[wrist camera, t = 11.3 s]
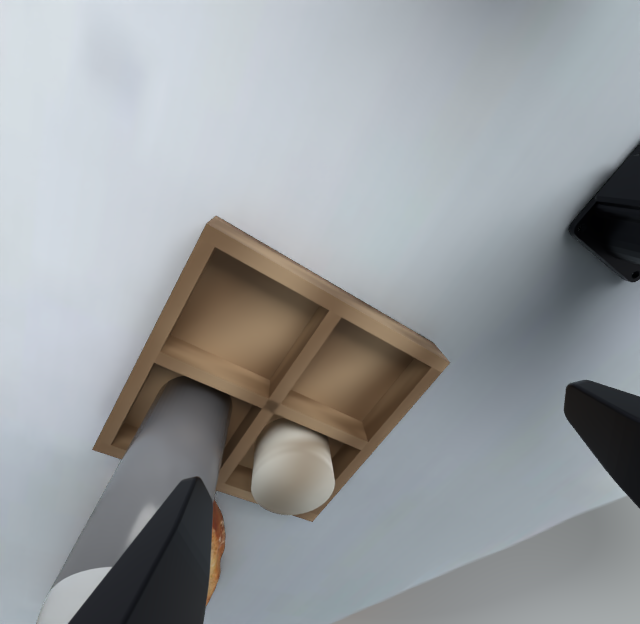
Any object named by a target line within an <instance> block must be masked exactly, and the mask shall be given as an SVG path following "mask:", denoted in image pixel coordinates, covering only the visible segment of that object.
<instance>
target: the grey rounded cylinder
mask: <svg viewBox="0 0 640 624" xmlns="http://www.w3.org/2000/svg"><path fill="white" fill-rule="evenodd" d="M232 407H233V406H232V400H231V397H230V395H229V394H227V393H224V392H222V391H220V390H217V389H215V388H213V387H210V386H208V385H205V384H203V383H201V382H198V381H196V380H194V379H191V378H189V377H187V376H180V377H176V378H174V379H172V380H170V381H168V382H167V383H165V384H164V385H163V386H162V387H161V389H160V390H159V392H158V394H157V396H156V397H155V399H154V401H153V403H152V405H151V407H150V408H149V410H148V412H147V414H146V416H145V418H144V419H143V421H142V423H141V425H140V427H139V429H138V430H137V432H136V434H135V436H134V438H133V440H132V441H131V443H130V445H129V447H128V449H127V451H126V452H125V454H124V456H123V458H122V460H121V461H120V463H119V465H118V467H117V469H116V471H115V472H114V474H113V476H112V478H111V480H110V482H109V483H108V485H107V487H106V489H105V491H104V493H103V494H102V496H101V498H100V500H99V502H98V504H97V505H96V507H95V509H94V511H93V513H92V515H91V516H90V518H89V520H88V522H87V524H86V526H85V527H84V529H83V531H82V533H81V535H80V537H79V538H78V540H77V542H76V544H75V546H74V548H73V549H72V551H71V553H70V555H69V557H68V559H67V560H66V562H65V564H64V566H63V568H62V570H61V571H60V573H59V575H58V577H57V579H56V580H55V582H54V584H53V586H52V588H51V590H50V591H49V593H48V595H47V597H46V599H45V601H44V603H43V606H42V608H41V610H40V613H39V616H38V619H37V622H36V624H68V622H69V621H70V620H71V619H72V617H73V616H74V615H75V614H76V612H77V611H78V610H79V609H80V607H81V606H82V605H83V603H84V602H85V601H86V600H87V598H88V597H89V596H90V595H91V593H92V592H93V591H94V590H95V588H96V587H97V586H98V584H99V583H100V582H101V581H102V579H103V578H104V577H105V576H106V574H107V573H108V572H109V571H110V569H111V568H112V567H113V565H114V564H115V563H116V562H117V560H118V559H119V558H120V557H121V555H122V554H123V553H124V552H125V550H126V549H127V548H128V546H129V545H130V544H131V543H132V541H133V540H134V539H135V538H136V536H137V535H138V534H139V533H140V531H141V530H142V529H143V527H144V526H145V525H146V524H147V522H148V521H149V520H150V519H151V517H152V516H153V515H154V514H155V512H156V511H157V510H158V508H159V507H160V506H161V505H162V503H163V502H164V501H165V500H166V498H167V497H168V496H169V495H170V493H171V492H172V491H173V490H174V488H175V487H176V486H177V484H178V483H179V482H180V481H181V480H183V479H187V478H191V477H195V476H199V477H200V478H201V479H202V481H203V482H204V484H205V486H206V488H207V490H208V492H209V494H210V496H211V498H212V501H214V496H215V491H216V486H217V481H218V477H219V472H220V467H221V462H222V457H223V453H224V448H225V443H226V438H227V433H228V428H229V424H230V419H231V414H232Z"/></svg>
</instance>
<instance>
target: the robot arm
mask: <svg viewBox="0 0 640 624" xmlns="http://www.w3.org/2000/svg"><path fill="white" fill-rule="evenodd" d="M580 225H581V228H580V230H578V228H579V226H580ZM569 233H570V234H571V235H572V236H573V237H574V238H575V239H577V240H578V241H579V242H580V243H581V244H582V245H584V246H585V247H586V248H587V249H588V250H589V251H591V252H592V253H593V254H594V255H595V256H597V257H598V258H599V259H600V260H601V261H602V262H604V263H605V264H606V265H607V266H608V267H610V268H611V269H612V270H613V271H614V272H615V273H617V274H618V275H619V276H620V277H621V278H622V279H624V280H626V281H629V282H636V281H638V280H639V279H640V144H639V146H638V147H637V148H636V149H635V150H634V151H633V152H632V154H631V155H630V156H629V157H628V158H627V159H626V161H625V162H624V163H623V164H622V165H621V166H620V167H619V169H618V170H617V171H616V172H615V173H614V174H613V176H612V177H611V178H610V179H609V180H608V181H607V182H606V184H605V185H604V186H603V187H602V188H601V189H600V191H599V192H598V193H597V194H596V195H595V196H594V197H593V199H592V200H591V201H590V202H589V203H588V204H587V206H586V207H585V208H584V209H583V210H582V211H581V212H580V214H579V215H578V216H577V217H576V218H575V219H574V221H573V222H572V223H571V224H570V226H569ZM564 413H565V416H566V418H567V420H568V421H569V423H570V424H571V425H572V426H573V428H574V429H575V430H576V432H577V433H578V434H579V436H580V437H581V438H582V440H583V441H584V442H585V443H586V445H587V446H588V447H589V449H590V450H591V451H592V453H593V454H594V455H595V457H596V458H597V459H598V461H599V462H600V463H601V464H602V466H603V467H604V468H605V470H606V471H607V472H608V473H609V475H610V476H611V477H612V478H613V479H614V481H615V482H616V483H617V484H618V485H619V486H620V487H621V489H622V490H623V491H624V492H625V493H626V494H627V495H628V496H629V497H630V499H632V501H633V502H634V503H635V504H636V505H637V506H638V507H639V508H640V397H639V396H636V395H633V394H630V393H627V392H624V391H621V390H617V389H614V388H611V387H608V386H605V385H602V384H599V383H596V382H593V381H589V380H582V381H578V382H573V383H570V384H568V386H567V387H566V394H565V403H564ZM212 523H213V501H212V498H211V496H210V494H209V492H208V490H207V488H206V486H205V484H204V482H203V481H202V479H201V478H200V477H199V476H195V477H191V478H187V479H183V480H181V481H180V482H179V483H178V484H177V486H176V487H175V488H174V490H173V491H172V492H171V493H170V495H169V496H168V497H167V498H166V500H165V501H164V502H163V503H162V505H161V506H160V507H159V508H158V510H157V511H156V512H155V514H154V515H153V516H152V517H151V519H150V520H149V521H148V522H147V524H146V525H145V526H144V527H143V529H142V530H141V531H140V533H139V534H138V535H137V536H136V538H135V539H134V540H133V541H132V543H131V544H130V545H129V546H128V548H127V549H126V550H125V552H124V553H123V554H122V555H121V557H120V558H119V559H118V560H117V562H116V563H115V564H114V565H113V567H112V568H111V569H110V571H109V572H108V573H107V574H106V576H105V577H104V578H103V579H102V581H101V582H100V583H99V584H98V586H97V587H96V588H95V590H94V591H93V592H92V593H91V595H90V596H89V597H88V598H87V600H86V601H85V602H84V603H83V605H82V606H81V607H80V609H79V610H78V611H77V612H76V614H75V615H74V616H73V617H72V619H71V620H70V621H69V622H68V624H203V622H204V615H205V608H206V601H207V594H208V587H209V578H210V562H211V543H212Z"/></svg>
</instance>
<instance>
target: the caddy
mask: <svg viewBox="0 0 640 624" xmlns="http://www.w3.org/2000/svg"><path fill="white" fill-rule="evenodd" d="M449 364H450V362H449V361H448V360H447V358H446V357H445V356H444V355H443V354H442V352H441V351H440V350H439V349H438V348H437V346H436V345H435V344H434V343H433V342H431V341H430V340H428V339H426V338H425V337H423V336H421V335H419V334H418V333H416V332H414V331H413V330H411V329H409V328H407V327H406V326H404V325H402V324H401V323H399V322H397V321H395V320H394V319H392V318H390V317H389V316H387V315H385V314H384V313H382V312H380V311H378V310H377V309H375V308H373V307H372V306H370V305H368V304H366V303H365V302H363V301H361V300H360V299H358V298H356V297H354V296H353V295H351V294H349V293H348V292H346V291H344V290H342V289H341V288H339V287H337V286H336V285H334V284H332V283H330V282H329V281H327V280H325V279H324V278H322V277H320V276H319V275H317V274H315V273H313V272H312V271H310V270H308V269H307V268H305V267H303V266H301V265H300V264H298V263H296V262H295V261H293V260H291V259H289V258H288V257H286V256H284V255H283V254H281V253H279V252H277V251H276V250H274V249H272V248H271V247H269V246H267V245H265V244H264V243H262V242H260V241H259V240H257V239H255V238H254V237H252V236H250V235H248V234H247V233H245V232H243V231H242V230H240V229H238V228H236V227H235V226H233V225H231V224H230V223H228V222H226V221H224V220H223V219H221V218H219V217H218V216H215V217H214V218H213V219H211V220H210V221H209V222H208V223H207V224H206V226H205V227H204V229H203V231H202V233H201V235H200V237H199V239H198V241H197V243H196V245H195V247H194V249H193V251H192V253H191V255H190V257H189V259H188V261H187V263H186V265H185V267H184V269H183V271H182V273H181V275H180V277H179V279H178V281H177V283H176V285H175V287H174V289H173V291H172V293H171V295H170V297H169V299H168V301H167V303H166V305H165V307H164V309H163V311H162V313H161V315H160V317H159V319H158V321H157V322H156V324H155V326H154V328H153V330H152V332H151V334H150V336H149V338H148V340H147V342H146V344H145V346H144V348H143V350H142V352H141V354H140V356H139V358H138V360H137V362H136V364H135V366H134V368H133V370H132V372H131V374H130V376H129V378H128V380H127V382H126V384H125V386H124V388H123V390H122V392H121V394H120V396H119V398H118V400H117V402H116V404H115V406H114V408H113V410H112V412H111V414H110V415H109V417H108V419H107V421H106V423H105V425H104V427H103V429H102V431H101V433H100V435H99V437H98V439H97V441H96V443H95V445H94V447H93V449H92V450H95V451H98V452H101V453H104V454H107V455H110V456H113V457H116V458H119V459H122V458H123V456H124V454H125V452H126V451H127V449H128V447H129V445H130V443H131V441H132V440H133V438H134V436H135V434H136V432H137V430H138V429H139V427H140V425H141V423H142V421H143V419H144V418H145V416H146V414H147V412H148V410H149V408H150V407H151V405H152V403H153V401H154V399H155V397H156V396H157V394H158V392H159V390H160V389H161V387H162V386H163V385H164V384H165V383H167V382H168V381H170V380H172V379H174V378H176V377H180V376H187V377H189V378H191V379H194V380H196V381H198V382H201V383H203V384H205V385H208V386H210V387H213V388H215V389H217V390H220V391H222V392H224V393H227V394H229V395H230V397H231V400H232V406H233V407H232V414H231V419H230V424H229V428H228V433H227V438H226V443H225V448H224V453H223V457H222V462H221V467H220V472H219V477H218V481H217V486H216V490H217V491H220V492H223V493H226V494H229V495H232V496H235V497H238V498H241V499H244V500H247V501H250V502H253V503H256V504H259V505H260V506H261V507H263V508H264V509H266V510H268V511H270V512H273V513H277V514H282V515H293V516H296V517H299V518H302V519H305V520H308V521H311V522H313V521H314V519H315V518H316V517H317V516H318V515H319V514H320V512H321V511H322V510H323V509H324V508H325V507H326V506H327V504H328V503H329V502H330V501H331V500H332V499H333V497H334V496H335V495H336V494H337V493H338V492H339V491H340V489H341V488H342V487H343V486H344V485H345V484H346V482H347V481H348V480H349V479H350V478H351V477H352V476H353V474H354V473H355V472H356V471H357V470H358V469H359V467H360V466H361V465H362V464H363V463H364V462H365V461H366V459H367V458H368V457H369V456H370V455H371V454H372V452H373V451H374V450H375V449H376V448H377V447H378V446H379V444H380V443H381V442H382V441H383V440H384V439H385V437H386V436H387V435H388V434H389V433H390V432H391V431H392V429H393V428H394V427H395V426H396V425H397V424H398V422H399V421H400V420H401V419H402V418H403V417H404V415H405V414H406V413H407V412H408V411H409V410H410V409H411V407H412V406H413V405H414V404H415V403H416V402H417V400H418V399H419V398H420V397H421V396H422V395H423V394H424V392H425V391H426V390H427V389H428V388H429V387H430V385H431V384H432V383H433V382H434V381H435V380H436V379H437V377H438V376H439V375H440V374H441V373H442V372H443V370H444V369H445V368H446V367H447V366H448V365H449Z"/></svg>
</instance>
